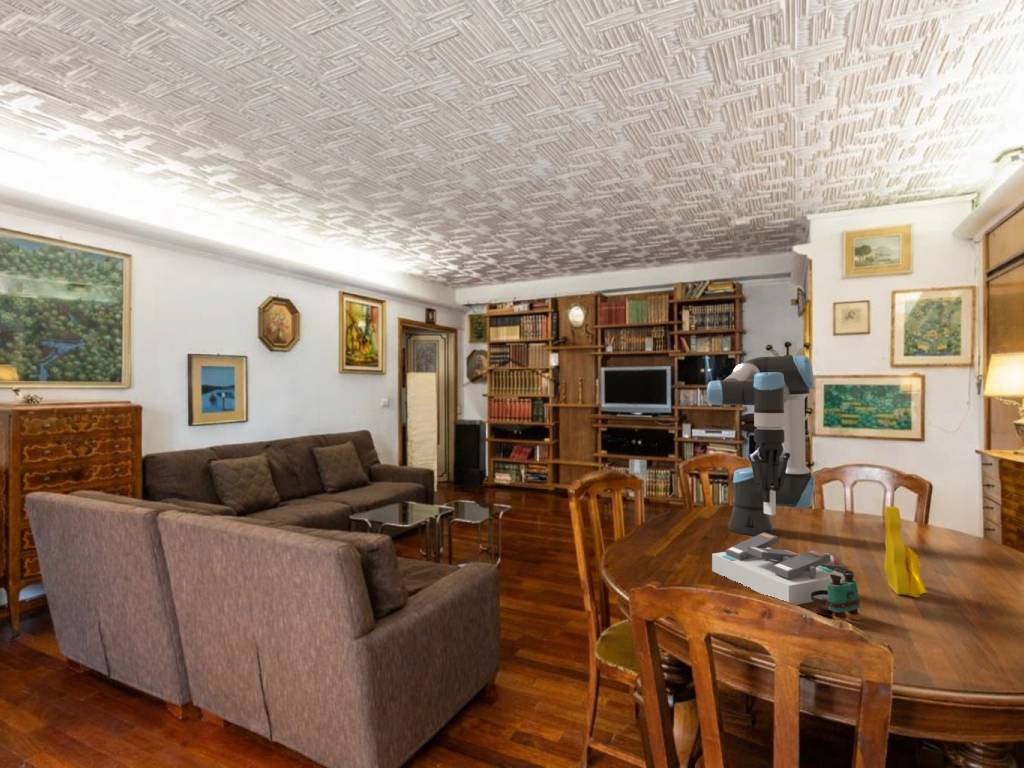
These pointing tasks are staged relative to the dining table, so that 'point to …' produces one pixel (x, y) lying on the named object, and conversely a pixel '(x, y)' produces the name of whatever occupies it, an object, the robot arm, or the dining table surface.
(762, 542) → the switch
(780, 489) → the robot arm
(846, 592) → the binoculars
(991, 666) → the dining table surface
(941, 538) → the dining table surface
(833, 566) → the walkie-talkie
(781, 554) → the switch
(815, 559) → the switch
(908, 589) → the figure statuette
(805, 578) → the console
